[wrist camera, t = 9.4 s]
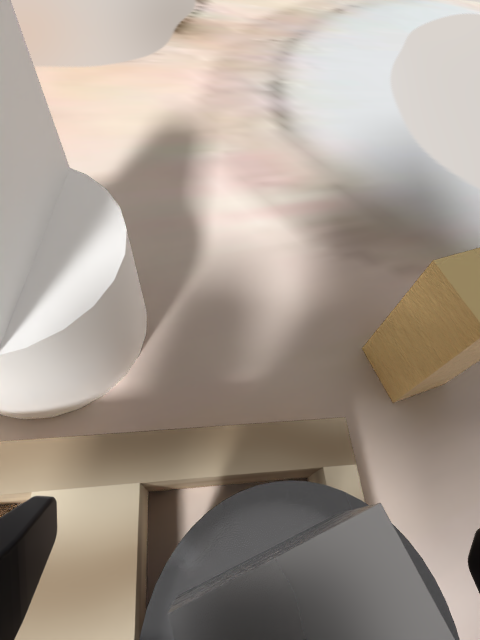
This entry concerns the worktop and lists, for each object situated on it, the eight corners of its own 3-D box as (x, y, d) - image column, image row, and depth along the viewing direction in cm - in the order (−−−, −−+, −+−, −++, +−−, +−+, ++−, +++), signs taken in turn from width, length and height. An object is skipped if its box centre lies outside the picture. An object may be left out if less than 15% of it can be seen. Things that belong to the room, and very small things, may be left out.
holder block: (391, 752, 12) (432, 796, 10) (-175, 854, 10) (-275, 935, 8) (327, 433, 17) (345, 417, 15) (-64, 462, 15) (-108, 448, 13)
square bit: (444, 384, 19) (557, 308, 13) (393, 403, 18) (487, 332, 12) (411, 332, 20) (499, 241, 14) (361, 348, 20) (433, 260, 14)
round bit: (310, 618, 14) (690, 874, 3) (205, 679, 13) (210, 1409, 2) (263, 504, 16) (398, 409, 5) (167, 549, 14) (60, 560, 4)
